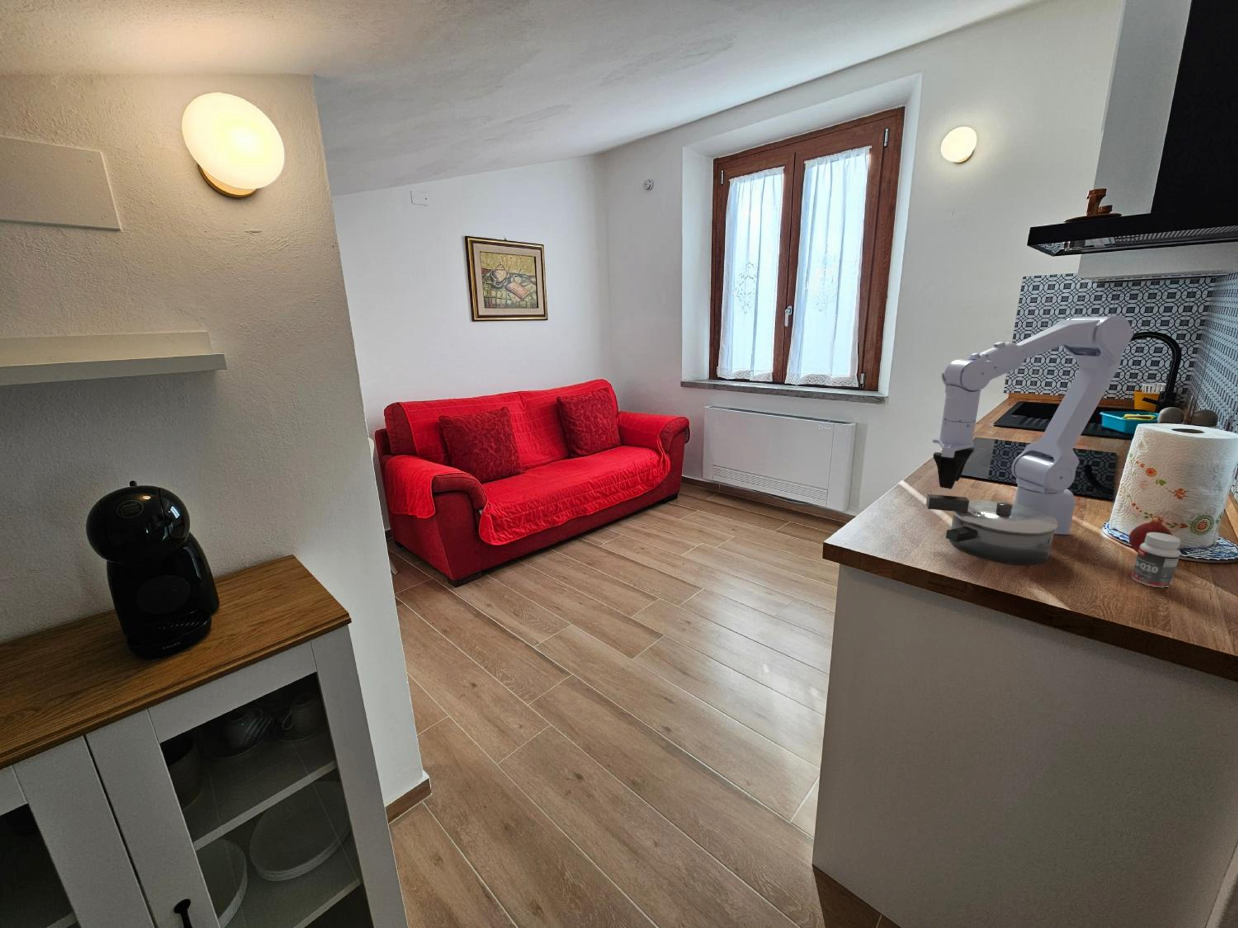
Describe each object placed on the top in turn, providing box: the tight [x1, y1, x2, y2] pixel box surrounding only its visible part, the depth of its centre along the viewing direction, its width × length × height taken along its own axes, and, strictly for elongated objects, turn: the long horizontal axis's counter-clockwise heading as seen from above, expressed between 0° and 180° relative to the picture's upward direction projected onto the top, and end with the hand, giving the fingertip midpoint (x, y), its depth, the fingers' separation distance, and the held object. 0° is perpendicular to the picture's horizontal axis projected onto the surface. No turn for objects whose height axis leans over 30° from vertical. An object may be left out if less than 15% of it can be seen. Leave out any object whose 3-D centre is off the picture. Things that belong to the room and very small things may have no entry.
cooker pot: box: [945, 513, 1055, 566], centre depth 102 cm, size 21×16×6 cm
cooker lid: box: [925, 493, 1058, 535], centre depth 102 cm, size 21×17×3 cm
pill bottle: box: [1131, 532, 1182, 588], centre depth 87 cm, size 5×5×8 cm
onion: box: [1128, 517, 1174, 554], centre depth 96 cm, size 6×6×8 cm
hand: (949, 483), depth 109 cm, fingers open, 6 cm apart
